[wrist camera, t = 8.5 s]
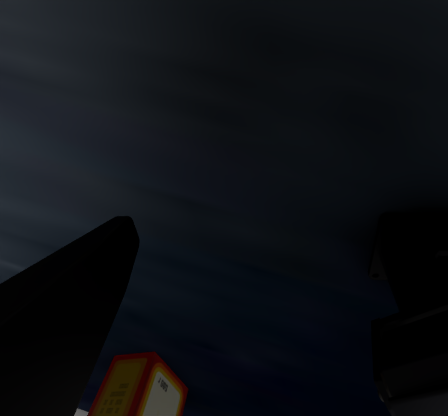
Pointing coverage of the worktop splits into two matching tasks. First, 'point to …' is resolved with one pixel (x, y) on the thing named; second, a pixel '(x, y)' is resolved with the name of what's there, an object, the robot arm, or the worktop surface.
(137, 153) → the worktop surface
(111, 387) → the baking soda box
